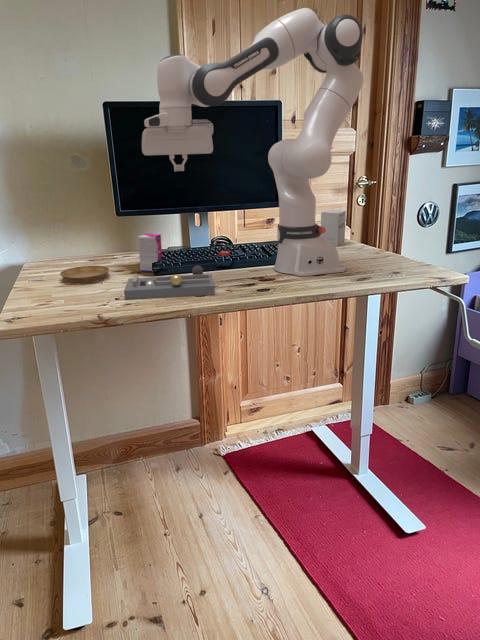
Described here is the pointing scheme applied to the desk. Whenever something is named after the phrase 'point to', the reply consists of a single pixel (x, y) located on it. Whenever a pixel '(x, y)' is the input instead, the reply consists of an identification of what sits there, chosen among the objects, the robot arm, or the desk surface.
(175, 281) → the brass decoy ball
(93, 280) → the plant saucer
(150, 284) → the steel ball
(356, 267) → the desk surface
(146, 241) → the supplement box
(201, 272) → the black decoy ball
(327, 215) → the supplement box
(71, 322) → the desk surface
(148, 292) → the board
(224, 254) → the race car
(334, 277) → the desk surface
